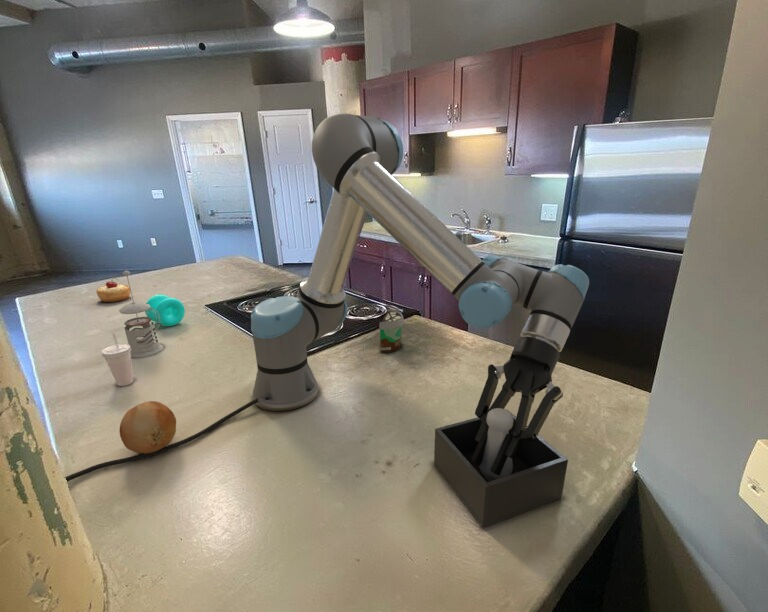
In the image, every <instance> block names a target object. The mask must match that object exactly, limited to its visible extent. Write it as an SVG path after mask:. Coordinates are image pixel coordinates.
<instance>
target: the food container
mask: <svg viewBox="0 0 768 612" xmlns="http://www.w3.org/2000/svg"><path fill="white" fill-rule="evenodd" d="M404 324H405V318H404V316H403V313H402V312H400V311H399V310H396V309H392V308H391V309H390V308H387V309H386V314H385V315H384V316H383V319H382V321H380V322H379V324H378V325H379V327H378V329H379V339H380V340H379V341H380V353H392V352H395V351H397V350H399V349H400V348H401V342H402V329H403V325H404Z"/></svg>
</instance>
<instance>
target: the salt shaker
mask: <svg viewBox="0 0 768 612" xmlns="http://www.w3.org/2000/svg"><path fill="white" fill-rule="evenodd" d="M507 410H508V409H507ZM507 410H506V409H505V408H504V409H502V408H496V409H492V410H490V411H489V412H488V415H487V424H488V426H489V430H488V435H487V440H486V445H485V450H484V455H483V460H482V462H481V464H480V466H479V465H478V466H479V468H480V470H481V473H482V475H483V476H484V478H485V479H486V480H487V482H490V481H493V480H496V479H499V478H502V477H505V476H508V475H511V473H512V469H513V463H512V458H510V457H507V460H506V462H505V464H504V467H503V469H502V471H501V473H500V476H498V475H497V474H495V473H493V472H492V471H490V470H491V468H492V466H493V463H494V461H495V459H496V456H497V454H498V452H499V450H500V447H501V445H502V443H503V441H504V438H505V436H506V434H509V430H510V429H511V428H512V427H513V421H514V419H513V415H514V414H513V413H512V412H511V411H509V410H508V411H507ZM510 412H511V413H512V414H513V415H512V414H511V413H510Z"/></svg>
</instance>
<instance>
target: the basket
mask: <svg viewBox="0 0 768 612" xmlns="http://www.w3.org/2000/svg"><path fill="white" fill-rule="evenodd" d="M505 410H507V411H509V409H505ZM509 412H510V413H511V414H512V415H513V419H514V421H513V427H512V428H511V429H510V430H509V435H511V436H512V434H511V431H513V428H514V424H515V420H516V416H517V415H514V414H513V413H512V412H511V411H509ZM481 424H482V422H481V420H480V419H479V418H478V417H477V416H476V417H474V418H470V419H466V420H463V421H459V422H455V423H452V424H448V425H444V426H440V427H437V428H434V450H433V451H434V452H433V453H434V457H433V461H434V462H433V465H434V467H435V468H436V470H438V472H439V474H441V476H442V477H443V479H444V480H445V481H446V482H447V484H448V485H449V486H450V487H451V489H452V490H453V492H454V493H455V494H456V496H457V497H458V499H459V500H460V501H461V502H462V504H464V506H465V507H466V509H467V510H468V512H469V513H470V514H471V515H472V517H473V518H474V520H475V521H476V522H477V523H478V524H479V525H478V526H480V528H482V529H484V528H486V527H489V526H492V525H494V524H497V523H499V522H502V521H505V520H508V519H510V518H513V517H515V516H519V515H521V514H524V513H526V512H529V511H532V510H535V509H536V508H540V507H542V506H545V505H547V504H550V503H553V502H556V501H558V500H561V499H562V498H563V497H562V496H563V492H564V491H563V490H564V486H565V480H566V475H567V474H566V473H567V468H568V463H569V459H568V458H567V457H566V456H565V455H563V454H562V453H561V452H560V451H559V450H557V449H556V448H555V447H553V445H551V444H550V443H549V442H548V441H546V440H545V439H544V438H543V437H542V436H540V435H539V434H538V435H537V437H536V439H535V440H534V441H533V442H530V441H521V442H520V444H519V447H518V449H517V451H516V454H515V456H514V457H513V458H512V463H513V469H512V473H511V475H508V476H505V477H502V478H499V479H496V480H493V481H490V482H487V480H486V479H485V478H484V476H483V475H482V473H481V470H480V468H479V466H478V465H477V464H476V463H474V462H472V461H471V458H472V456H473V454H474V452H475V450H476V447H477V445H478V442H477V441H476V440H475V439H476V435H477V433H478V431H479V429H480V427H481ZM527 427H528V424H527V425H526V429H527ZM526 429H525V431H526Z"/></svg>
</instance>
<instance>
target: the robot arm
mask: <svg viewBox="0 0 768 612" xmlns="http://www.w3.org/2000/svg"><path fill="white" fill-rule="evenodd" d="M311 155H312V159H313V162H314V165H315V167H316V168H317V170H318V172H319V173H320V174H321V176H322V177H323V179H324V180H325V181H326V182H327V183H328V184H329V186H331V187H332V188H333V190H332V193H331V197H330V201H329V203H328V208H327V211H326V215H325V218H324V221H323V225H322V229H321V232H320V236H319V240H318V243H317V247H316V250H315V254H314V257H313V260H312V264H311V268H310V272H309V275H308V277H304V278H303V279H301V281H300V283H299V286H298V290H297V291H298V292H297V294H296V297H295V296H290V295H281V296H277V297H275V298H274V297H271V298H268V299H266V300H263V301H261V302H260V303H258V304H256V306H254V307H253V309H252V310H251V313H250V321H251V323H250V324H251V325H250V330H251V333H252V340H253V346H254V353H255V358H256V367H257V372H256V377H255V381H254V384H253V385H254V386H253V389H252V390H253V391H252V397H253V400H251V401H249V402H248V403H245V404H244V405H242V406H241V407H239V408H237V409H235V410H234V411H231V412H230V413H229V414H227V415H225V416H223V417H221V418H220V419H218V420H217V421H215V422H213V423H212V424H211V425H209V426H207V427H206V428H203V429H202V430H201V431H199V432H197V433H194V434H192V435H190V436H188V437H186V438H183V439H182V440H179V441H176V442H174V443H171V444H168V445H166V446H165V447H164V448H162V449H160V450H158V451H156V452H153V453H147V454H141V453H138V454H136V455H132V456H128V457H123V458H119V459H118V458H117V459H113V460H109V461H104V462H101V463H98V464H95V465H91V466H89V467H87V468H84V469H82V470H79V471H77V472H74V473H71V474H69V475H67V476H65V477H64V478H66V480H67V482H66V483H69V482H70V481H72V480H75V479H77V478H80V477H82V476H84V475H87V474H90V473H92V472H94V471H95V472H96V471H97V470H101V469H104V468H108V467H111V466H117V465H122V464H127V463H130V462H134V461H138V460H142V459H145V458H149V457H152V456H154V455H158V454H161V453H164V452H168V451H170V450H173V449H176V448H178V447H181V446H183V445H186V444H188V443H190V442H192V441H194V440H196V439H198V438H200V437H202V436H203V435H206V434H207V433H209V432H210V431H212V430H214V429H215V428H217V427H219V426H221V424H223V423H224V422H226V421H228V420H230V419H231V418H233V417H235V416H237V415H238V414H241V412H244V411H245V410H247V409H249V408H251V407H252V406H254V405H256V406H257V407H258V408H260V409H262V410H265V411H271V412H287V411H288V412H289V411H293V410H296V409H299V408H302V407H305V406H306V405H309V403H311V402H312V401H314V399H316V398H317V396H318V393H319V389H318V382H317V379H316V377H315V375H314V373H313V371H312V368H311V367H310V364H309V360H308V351H307V347H308V346H309V345H311V344H312V343H313V342H316V341H317V340H318V339H320V338H322V337H324V336H326V335H328V334H329V333H333V332H334V331H335V330H337V329H338V328H339V327H340V326H341V325H342V324H343V323H344V322H345V320H346V318H347V315H348V303H346V301H347V299H346V295H347V293H346V291H345V289H344V284H345V282H346V278H347V275H348V271H349V270H350V267H351V263H352V261H353V257H354V255H355V251H356V248H357V245H358V243H359V240H360V236H361V234H362V230H363V228H364V225H365V222H366V219H367V216H368V215H369V216H370V217H372V219H373V220H374V221H375V222H377V223H378V224H379V226H380V227H382V228H383V230H385V231H386V233H388V234H389V236H391V237H392V238H393V239H394V240H395V241H396V242H397V243H398V244H399V245H400V246H401V247H402V248H403V249H405V251H407V253H408V254H410V255H411V256H412V258H414V259H415V260H416V261H417V262H418V263H419V264H420V265H421V266H422V267H423V268H425V270H426V271H428V273H430V275H432V277H434V278H435V280H437V281H438V282H439V283H440V284H441V285H442V286H443V287H444V288H445V289H446V290H447V291H448V292H449V293H451V295H452V296H453V297H454V298H455V299H456V300H457V301H458V309H459V313H460V315H461V317H462V319H463V320H464V322H465V323H466V324H468V325H469V326H471V327H473V328H477V329H480V330H486V329H487V330H488V329H491V328H494V327H496V326H497V325H499V324H500V323H501V322H502V321H503V320H505V319H506V318H507V317H508V316H509V314H510V313H511V311H512V309H513V307H514V306H517V307H520V308H523V309H526V310H528V311H530V313H529V314H528V317H527V318H526V319H527V320H526V321H525V323H524V325H523V327H522V330H521V332H520V335H519V336H520V337H519V338H518V339H517V340H516V343H515V345H514V347H513V349H512V351H511V354H510V358H509V359H508V360H507V361H506V362H505V363H504V364H503V365H496V366H495V365H494V364H488V366H487V378H486V381H485V384H484V387H483V389H482V392H481V395H480V397H479V400H478V403H477V405H476V408H475V411H474V415H475V416H476V418H477V417H478V418H479V419H480V420H481V422H482V424H481V427H480V429H479V431H478V433H477V435H476V439H475V440H476V441H477V442H478V445H477V447H476V450H475V452H474V454H473V456H472V458H471V461H472V462H474V463H476V464H477V465H479V466H480V464H481V462H482V460H483V455H484V450H485V445H486V440H487V435H488V430H489V426H488V424H487V415H488V412H489V411H490V410H492V409H496V408H502V409H505V408H506V407H507V405H508V404H509V402H510V400H511V399H512V397H514V396H515V395H516V393H521V394H520V395H521V397H520V402H519V405H518V409H517V413H516V415H515V416H516V420H515V424H514V428H513V431H511V434H512V436H511V435H509V434H506V436H505V438H504V441H503V443H502V445H501V447H500V450H499V452H498V454H497V456H496V459H495V461H494V463H493V466H492V468H491V470H490V471H492V472H493V473H495V474H497V475H498V476H500V473H501V471H502V469H503V467H504V464H505V462H506V460H507V457H510V458H513V457H514V456H515V454H516V451H517V449H518V447H519V444H520V442H521V441H530V442H533V441H534V440H535V439H536V437H537V435H539V433H540V432H541V429H542V428H543V425H544V424H545V423H546V420H547V419H548V416H549V414H550V412H551V411H552V409H553V408H554V405H555V404H556V403H557V402H558V401H559V400H561V399H562V398H563V396H564V393H563V391H562V389H561V387H559V386H558V385H557V386H556V385H555V384H554V383H553V377H552V376H553V373H554V371H555V368H556V366H557V364H558V361H559V359H560V357H561V355H560V353H561V352H562V351H563V349H564V347H565V344H566V342H567V340H568V338H569V336H570V333H571V330H572V328H573V326H574V324H575V321H576V319H577V317H578V315H579V312H580V310H581V308H582V306H583V303H584V301H585V299H586V295H587V292H588V289H589V286H590V278H589V276H588V275H587V274H586V273H585V272H584V271H583V270H582V269H580V268H579V267H577V266H574V265H571V264H566V265H565V264H561V263H560V264H555V265H553V266H552V267H551V268H550V269H549V270H548V271H543V270H542V271H541V270H539V269H536V268H534V267H530V266H527V265H525V264H521V263H519V262H516V261H513V260H510V259H508V258H507V257H503V256H497V255H494V254H487V255H485V256H484V257H483V258H482V259H481V258H480V257H479V256H478V255H477V254H476V253H475V252H474V251H473V250H472V249H471V248H470V247H469V246H468V245H466V243H464V241H462V240H461V239H460V238H459V237H458V236H457V235H456V234H455V233H454V232H453V231H451V229H450V228H449V227H447V226H446V225H445V224H444V223H443V221H441V220H440V219H439V218H438V217H437V216H436V215H434V213H432V212H431V210H429V208H427V206H425V205H424V204H423V203H422V202H421V201H420V200H419V199H418V198H417V197H416V196H414V194H412V193H411V191H409V190H408V189H407V188H406V187H405V186H404V185H403V184H402V183H401V182H399V180H397V179H396V177H394V175H393V174H395V173H396V172H397V171H398V169H399V168H400V166H401V164H402V161H403V157H404V144H403V140H402V137H401V135H400V133H399V131H398V130H397V128H396V127H395V126H394V125H393V124H392V123H390V122H388V120H385V119H382V118H379V117H376V116H374V115H370V116H369V115H361V114H360V115H358V114H353V113H346V112H340V113H339V112H338V113H334V114H331V115H329V116H328V117H326V118H324V119H323V120H322V121H321V122H320V123H319V124H318V125H317V127H316V128H315V130H314V133H313V136H312V140H311ZM502 375H504V378H505V381H504V383H503V384H502V386H501V390H500V391H499V393H498V394H497V396H496V398H495V399H494V396H495V393H496V390H497V388H498V384H499V380H500V379H501V378H502V377H503V376H502ZM543 390H545V395H544V396H543V398H542V399H541V401H540V402H539V405H538V406H537V409H536V410H535V413H534V414H533V416H532V417H531V420H530V421H529V418H530V413H531V410H532V406H533V404H534V401H535V398H536V395H537V394H538V393H539V392H541V391H543ZM493 399H494V401H493ZM492 401H493V402H492ZM528 421H529V423H528ZM526 425H527V426H528V427H527V429H526ZM525 429H526V431H525Z"/></svg>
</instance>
